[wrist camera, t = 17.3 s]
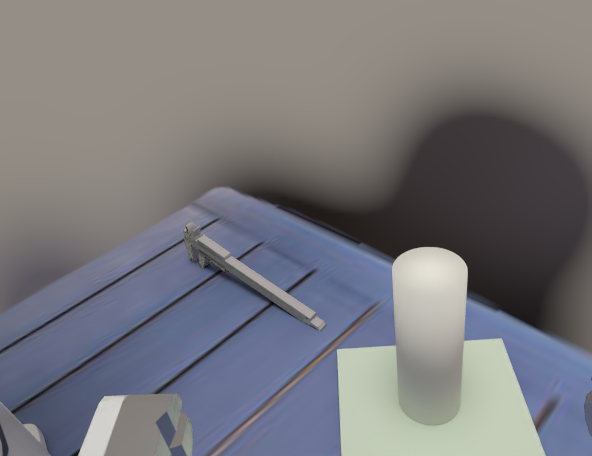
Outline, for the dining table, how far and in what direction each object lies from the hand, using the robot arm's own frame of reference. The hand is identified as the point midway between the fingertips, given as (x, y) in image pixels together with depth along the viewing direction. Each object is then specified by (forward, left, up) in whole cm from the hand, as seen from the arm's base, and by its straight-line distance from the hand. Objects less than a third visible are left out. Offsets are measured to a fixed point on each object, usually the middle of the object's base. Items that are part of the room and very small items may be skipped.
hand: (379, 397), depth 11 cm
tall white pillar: (+5, +21, -29) cm, 37 cm away
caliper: (-12, +37, -31) cm, 49 cm away
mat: (+5, +21, -30) cm, 37 cm away
